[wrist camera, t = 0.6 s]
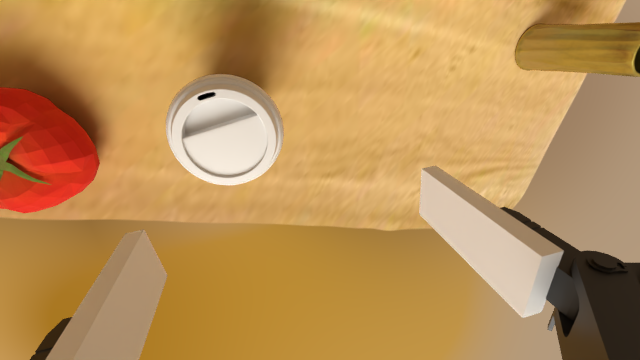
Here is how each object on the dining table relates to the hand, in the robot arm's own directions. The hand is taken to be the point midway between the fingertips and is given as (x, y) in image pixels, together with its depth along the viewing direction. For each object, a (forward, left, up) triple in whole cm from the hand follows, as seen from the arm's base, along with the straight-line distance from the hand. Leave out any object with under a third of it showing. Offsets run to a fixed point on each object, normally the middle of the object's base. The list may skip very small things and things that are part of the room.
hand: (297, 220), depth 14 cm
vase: (-7, +39, -27) cm, 48 cm away
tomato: (+2, -25, -27) cm, 37 cm away
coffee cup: (-1, -4, -27) cm, 27 cm away
